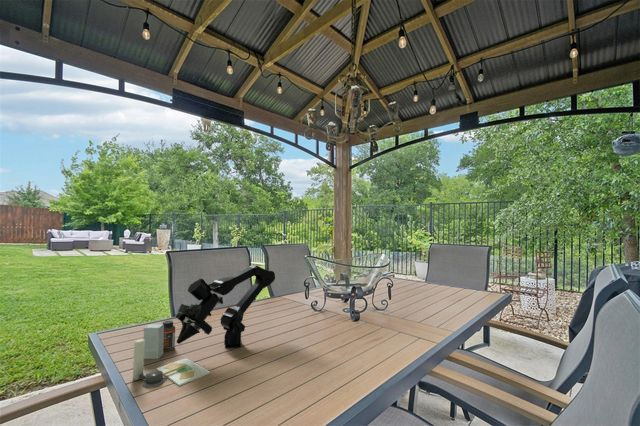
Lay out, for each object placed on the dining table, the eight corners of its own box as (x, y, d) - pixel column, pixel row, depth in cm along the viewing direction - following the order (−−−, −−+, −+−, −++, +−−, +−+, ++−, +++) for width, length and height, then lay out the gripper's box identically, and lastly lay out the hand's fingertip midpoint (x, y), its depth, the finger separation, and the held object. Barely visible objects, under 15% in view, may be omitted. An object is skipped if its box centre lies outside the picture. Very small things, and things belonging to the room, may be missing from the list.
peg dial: (142, 368, 106) (143, 334, 107) (187, 366, 108) (188, 333, 108) (125, 384, 95) (127, 346, 96) (175, 382, 97) (177, 345, 97)
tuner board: (186, 359, 115) (186, 357, 115) (210, 373, 104) (210, 371, 104) (133, 377, 101) (133, 375, 101) (154, 396, 90) (155, 394, 90)
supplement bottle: (157, 352, 121) (158, 324, 121) (160, 346, 126) (161, 320, 127) (173, 351, 122) (174, 323, 123) (175, 345, 128) (176, 319, 129)
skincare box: (163, 354, 119) (164, 324, 120) (158, 359, 115) (159, 327, 115) (148, 354, 119) (149, 324, 120) (142, 359, 115) (143, 327, 115)
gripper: (180, 291, 121) (151, 326, 112) (205, 299, 110) (174, 338, 101) (198, 307, 127) (171, 341, 118) (223, 315, 116) (195, 354, 107)
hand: (177, 343), depth 111 cm, fingers closed
